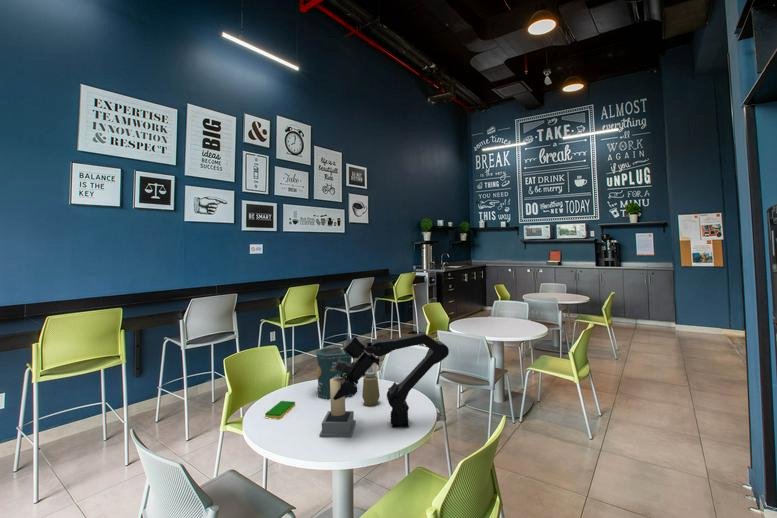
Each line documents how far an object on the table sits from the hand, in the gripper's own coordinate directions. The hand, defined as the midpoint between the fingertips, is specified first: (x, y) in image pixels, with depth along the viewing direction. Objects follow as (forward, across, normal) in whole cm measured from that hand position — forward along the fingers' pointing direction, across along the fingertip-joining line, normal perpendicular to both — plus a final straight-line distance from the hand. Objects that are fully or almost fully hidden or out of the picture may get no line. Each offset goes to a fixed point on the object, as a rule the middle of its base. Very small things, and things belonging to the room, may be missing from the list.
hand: (334, 396), depth 140 cm
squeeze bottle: (-2, -22, +21) cm, 31 cm away
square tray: (+8, 0, +10) cm, 13 cm away
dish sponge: (+26, -22, -7) cm, 35 cm away
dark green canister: (+10, -39, +9) cm, 42 cm away
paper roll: (+4, 0, +6) cm, 7 cm away
